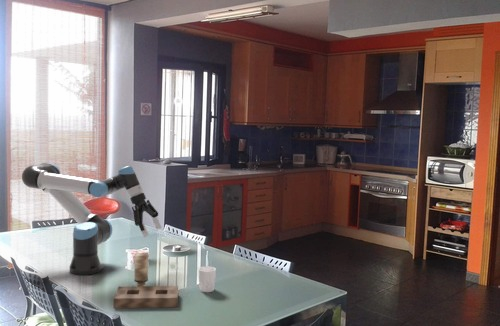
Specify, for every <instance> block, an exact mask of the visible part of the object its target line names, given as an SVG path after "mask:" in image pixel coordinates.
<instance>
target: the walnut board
mask: <svg viewBox="0 0 500 326" xmlns="http://www.w3.org/2000/svg"><path fill="white" fill-rule="evenodd" d="M178 302H179V286H177V285H174V286H173V285H169V286H168V285H167V286H166V285H165V286H164V285H163V286H162V285H161V286H158V285H155V286H153V285H151V286H149V285H148V286H146V285H145V286H137V285H136V286H118V287H117V290H116V292H115V294H114V296H113V308H114V309H120V308H121V309H127V308H131V309H132V308H135V309H136V308H138V309H139V308H178Z"/></svg>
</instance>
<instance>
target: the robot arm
mask: <svg viewBox="0 0 500 326" xmlns="http://www.w3.org/2000/svg"><path fill="white" fill-rule="evenodd" d="M117 172H118V174H117V175H114V176H112V177H109V178H107V179H102V180H99V179H92V178H84V177H80V176H79V177H78V176H73V175H72V176H71V175H64V174H61V170H60V169H59V168H58V166H57V165H55V164H53V163H48V162H42V163H41V164H34V165H29V166H27V167H26V168H25V169H24V170H23V171H22V174H21V180H22V183H23V184H24V185H25V186H26V187H28V188H29V189H30V188H31V189H39V190H42V191H43V192H44V193H45V194H47V193H48V194H50V195H51V196H52V197H53V199H55V200H56V201H57V202H58V203H59V204H60V206H61V207H62V208H63V209H64V210H65V211H66V212H67V213H68V214H69V216H71V217H72V218H73V220H75V222H77V224H76V225H75V226H74V227H73V232H72V239H73V240H72V241H73V242H72V246H73V249H72V251H73V253H72V259H71V262H70V264H69V265H70V266H69V273H71V274H73V275H79V276H83V275H84V276H87V275H93V274H97V273H100V272H101V270H102V264H101V261H100V258H99V251H98V248H99V245H100V244H102V243H104V242H106V241H108V240H109V239H110V238H111V236H112V235H113V234H112V233H113V225H112V224H111V222H110V221H109V220H108V219H105V218H102V217H100V215H98V214H97V213H92V212H91V210H90V209H89V208H88V207H87V206H86V205H85V204H84V203H83V202H82V201H81V200H80V199H79V198H78V197H77V196H76V195H75V193H78V194H79V193H80V194H85V195H91V196H92V197H95V198H102V197H104V196H108V195H111V194H114V193H116V192H117V191H119V190H121V189H124V188H125V190H126V193H127V195H128V197H129V198H130V202H131V204H132V205H134V206H132V207H131V209H132V212H133V219H134V220H133V221H134V225H135V226H136V227H139V229H140V232H141V234H142V236H143V238H146V237H148V236H150V234H149V232H148V229H147V228H146V225H145V223H143V222H144V221H143V219H144V218H143V216H144V214H143V213H144V212H145V213H146V214H148V215H149V216H150V217H151V219H152V221H153V224H154V226H155V229H156V230H157V231H158V230H159V229H162V226H161V222H160V221H159V218H158V217H159V212H158V211H157V209H156V208H155V207H154V206H153V205H152V203H151V202H150V200H149V199H147V197H146V195H145V193H144V192H143V191H144V190H143V188H142V186H141V183H140V181H139V179H138V176H137V174H136V172H135V170H134V168H133V166H131V165H127V166H124V167H122V168H120V169H118V170H117ZM146 199H147V200H146Z"/></svg>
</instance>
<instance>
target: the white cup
mask: <svg viewBox="0 0 500 326" xmlns="http://www.w3.org/2000/svg"><path fill="white" fill-rule="evenodd" d="M216 272H217V268H216V267H214V266H208V265H207V266H200V267H199V268H198V285H199V287H198V289H199V291H200V292H202V293H211V292H214V290H215V284H216Z"/></svg>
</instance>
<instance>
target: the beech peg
mask: <svg viewBox="0 0 500 326" xmlns="http://www.w3.org/2000/svg"><path fill="white" fill-rule="evenodd" d="M133 280H134V282H135V283H136V286H146V282H148V281H149V254H148V253H145V252H138V253H137V252H136V253H135V254H134V279H133Z"/></svg>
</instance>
